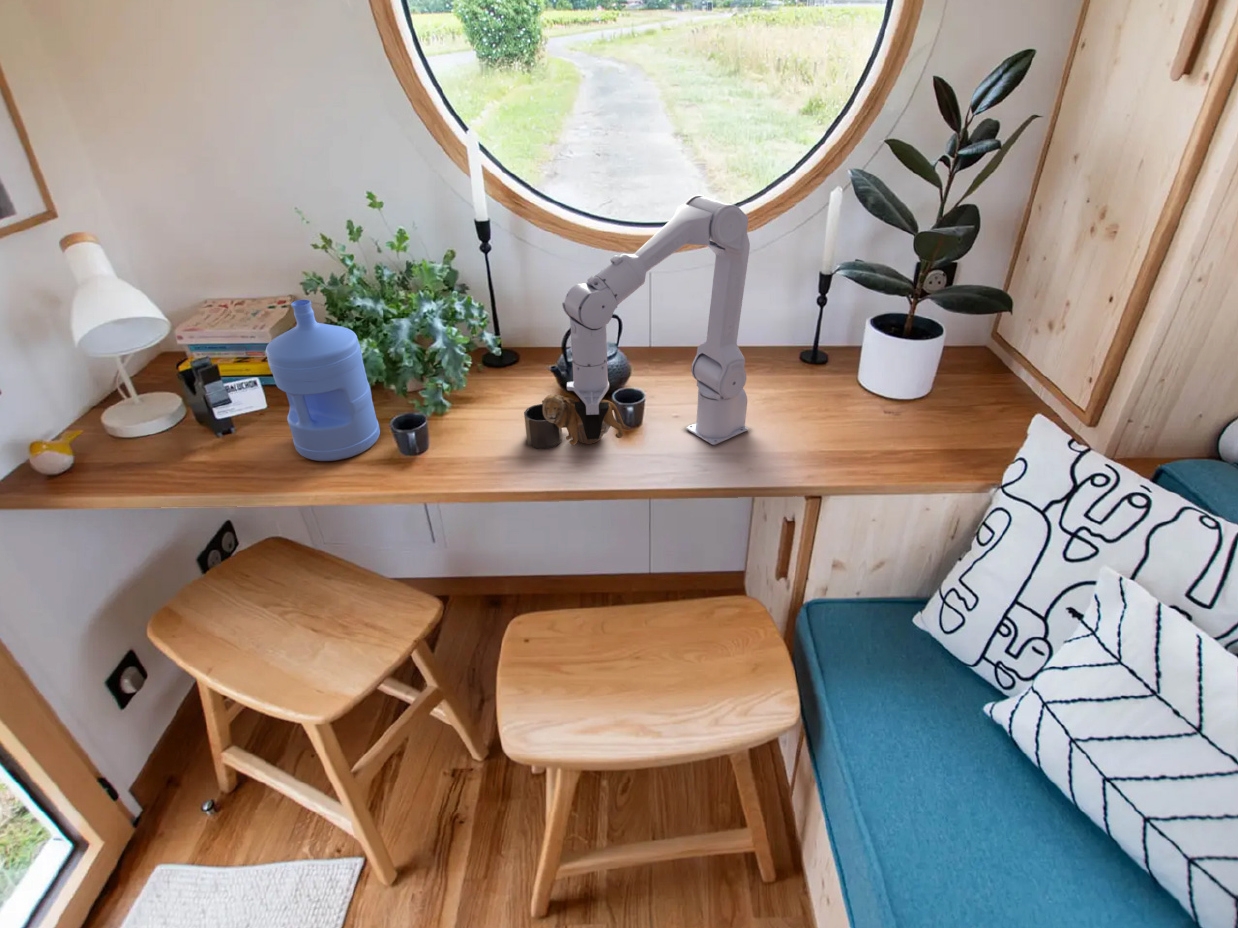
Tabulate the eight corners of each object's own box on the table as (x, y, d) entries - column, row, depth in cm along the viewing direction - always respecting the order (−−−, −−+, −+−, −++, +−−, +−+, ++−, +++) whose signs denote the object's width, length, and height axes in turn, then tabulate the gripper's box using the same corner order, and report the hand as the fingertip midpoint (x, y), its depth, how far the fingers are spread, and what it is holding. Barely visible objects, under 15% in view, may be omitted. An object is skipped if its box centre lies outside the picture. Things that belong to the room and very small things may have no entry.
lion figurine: (550, 452, 115) (542, 401, 112) (546, 441, 120) (538, 392, 116) (634, 436, 117) (628, 386, 114) (627, 426, 122) (621, 378, 119)
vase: (594, 451, 129) (592, 410, 124) (564, 441, 132) (561, 401, 127) (613, 435, 134) (612, 395, 129) (583, 426, 137) (582, 387, 132)
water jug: (333, 416, 141) (296, 284, 126) (397, 428, 137) (367, 293, 121) (278, 454, 129) (229, 313, 114) (346, 469, 125) (305, 324, 109)
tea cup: (549, 427, 137) (547, 400, 133) (569, 441, 132) (567, 414, 129) (520, 437, 133) (517, 410, 130) (538, 452, 129) (536, 425, 125)
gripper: (565, 342, 117) (569, 412, 125) (565, 380, 105) (569, 454, 112) (606, 341, 117) (607, 410, 125) (611, 378, 105) (612, 452, 113)
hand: (592, 431), depth 119 cm, fingers closed on lion figurine, 4 cm apart
